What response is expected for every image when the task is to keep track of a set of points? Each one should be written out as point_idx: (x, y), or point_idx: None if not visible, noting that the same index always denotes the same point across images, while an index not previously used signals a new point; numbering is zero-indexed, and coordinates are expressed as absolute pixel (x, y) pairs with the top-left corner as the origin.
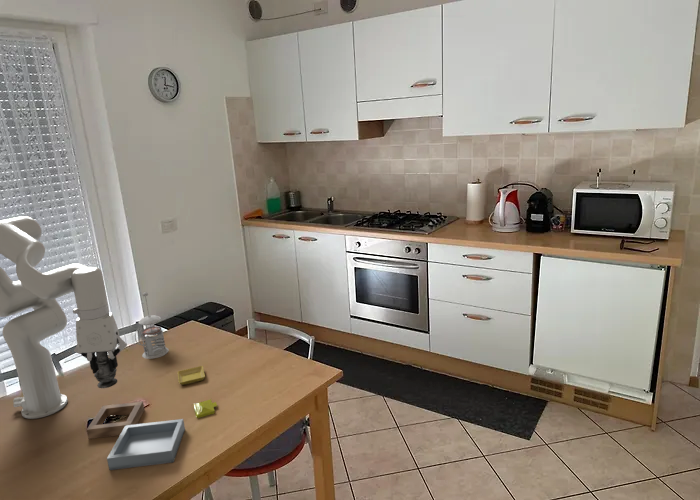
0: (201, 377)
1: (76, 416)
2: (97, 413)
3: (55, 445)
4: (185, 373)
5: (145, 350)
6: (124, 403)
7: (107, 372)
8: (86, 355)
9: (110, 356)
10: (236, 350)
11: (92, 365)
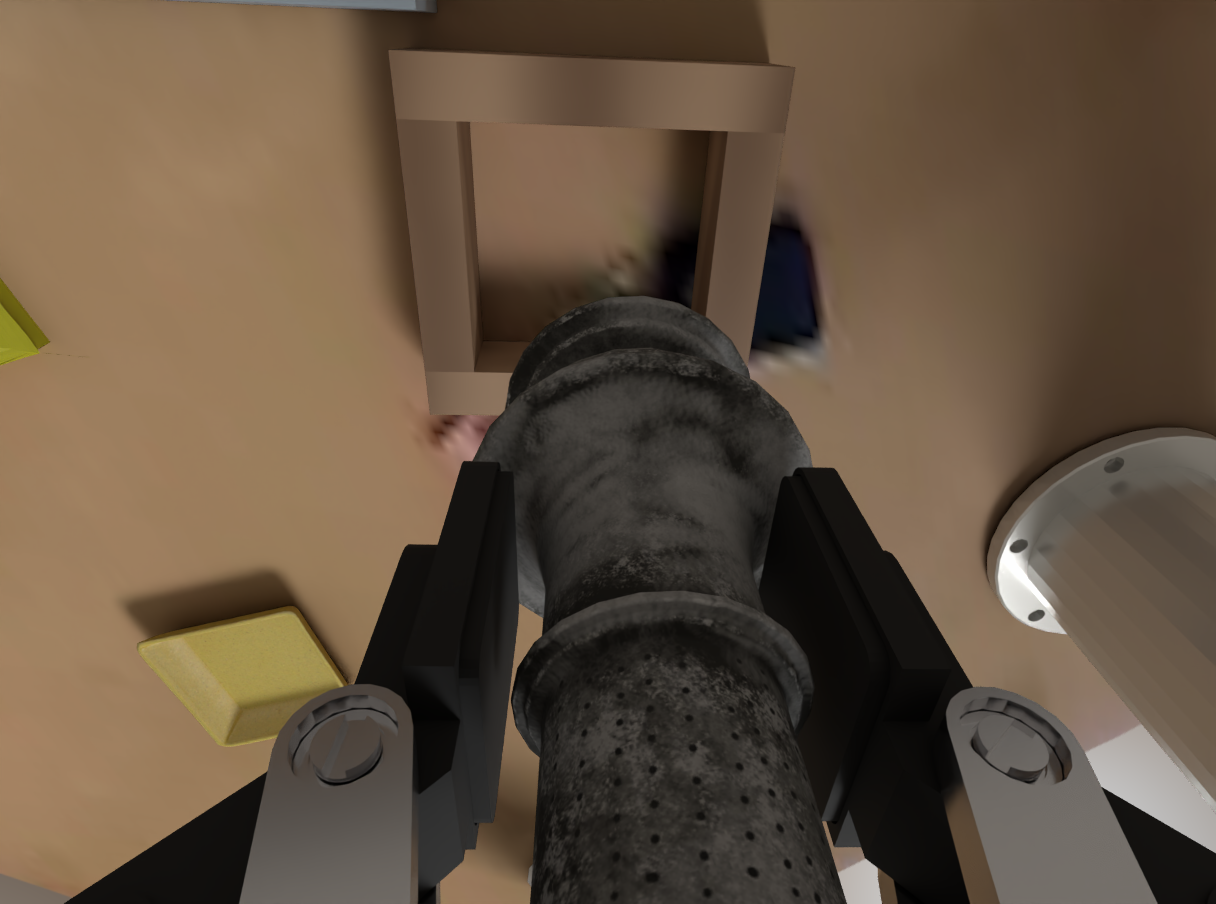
0: (154, 641)
1: (911, 401)
2: (753, 319)
3: (1022, 31)
4: None
5: None
6: None
7: (572, 465)
8: (1140, 878)
9: (375, 768)
10: (126, 847)
11: (877, 579)
